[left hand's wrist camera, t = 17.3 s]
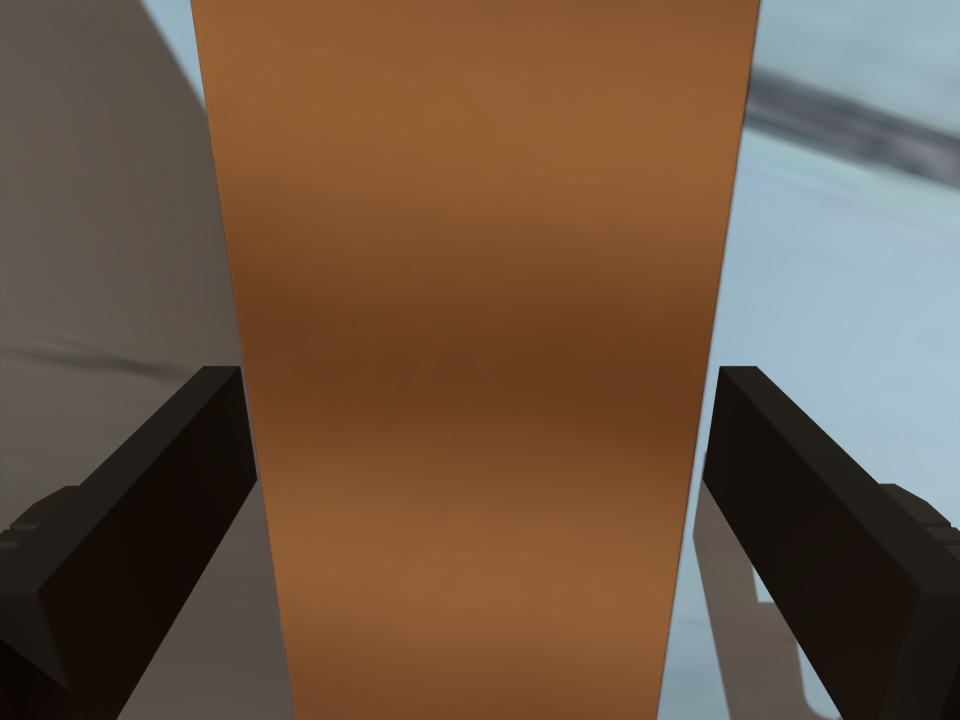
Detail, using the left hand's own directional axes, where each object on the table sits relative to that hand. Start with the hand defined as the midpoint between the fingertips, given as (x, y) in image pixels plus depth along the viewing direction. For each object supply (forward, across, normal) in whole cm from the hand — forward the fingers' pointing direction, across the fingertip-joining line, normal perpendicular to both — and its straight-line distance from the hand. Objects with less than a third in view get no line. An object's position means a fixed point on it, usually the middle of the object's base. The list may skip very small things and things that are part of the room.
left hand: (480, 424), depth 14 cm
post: (+3, 0, -28) cm, 29 cm away
